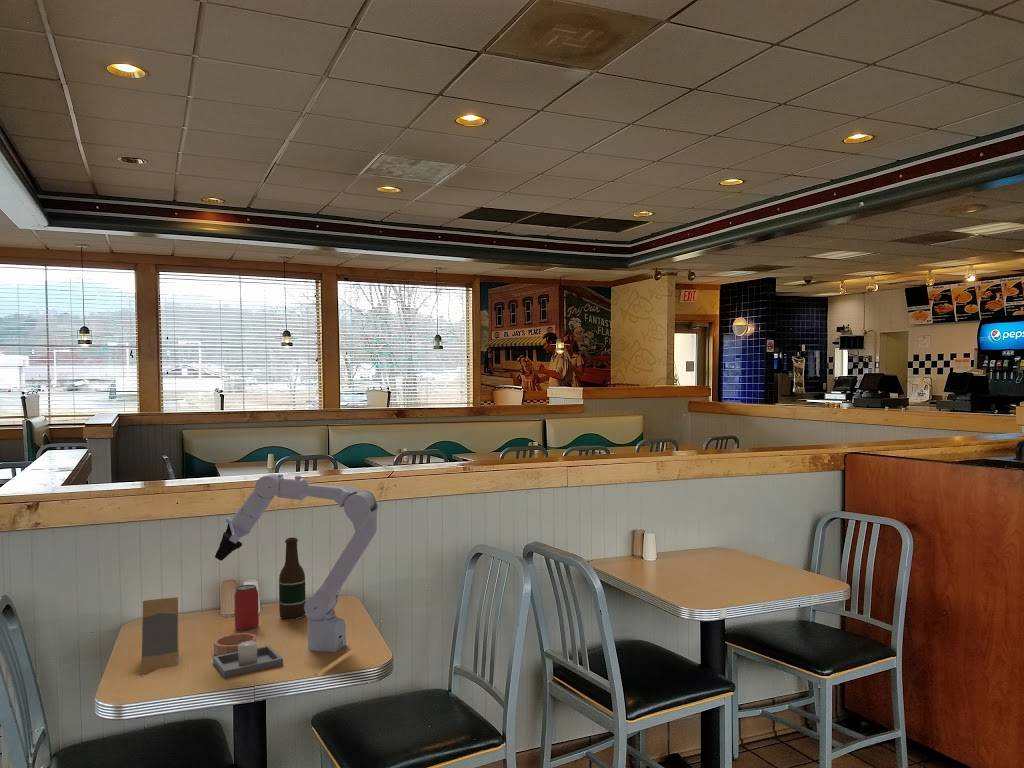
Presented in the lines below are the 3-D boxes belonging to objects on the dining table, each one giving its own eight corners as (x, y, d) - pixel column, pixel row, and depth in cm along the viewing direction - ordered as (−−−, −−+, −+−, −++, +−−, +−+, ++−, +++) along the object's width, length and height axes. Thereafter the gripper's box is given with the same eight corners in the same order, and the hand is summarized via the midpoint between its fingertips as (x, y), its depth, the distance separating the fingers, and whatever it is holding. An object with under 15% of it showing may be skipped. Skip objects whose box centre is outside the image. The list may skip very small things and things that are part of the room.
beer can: (251, 631, 216) (250, 590, 216) (230, 630, 217) (229, 589, 217) (263, 624, 222) (262, 584, 222) (243, 623, 223) (242, 583, 223)
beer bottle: (279, 614, 233) (278, 537, 233) (305, 611, 235) (304, 535, 235) (279, 621, 225) (278, 541, 225) (306, 618, 227) (304, 539, 228)
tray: (269, 655, 196) (269, 645, 196) (283, 669, 186) (282, 658, 186) (213, 667, 188) (213, 656, 188) (224, 682, 178) (224, 671, 178)
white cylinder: (261, 661, 188) (260, 641, 188) (250, 668, 184) (249, 647, 184) (245, 660, 190) (245, 640, 190) (234, 666, 185) (234, 646, 185)
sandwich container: (139, 677, 182) (138, 616, 182) (143, 657, 196) (142, 600, 197) (178, 671, 186) (177, 611, 186) (178, 652, 200) (178, 596, 200)
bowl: (264, 648, 201) (264, 634, 201) (240, 662, 191) (239, 647, 191) (231, 645, 204) (231, 631, 204) (205, 659, 194) (205, 644, 194)
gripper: (240, 495, 206) (212, 534, 207) (232, 514, 193) (202, 556, 193) (262, 508, 209) (234, 547, 209) (256, 528, 195) (226, 569, 195)
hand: (220, 552), depth 201 cm, fingers open, 7 cm apart
